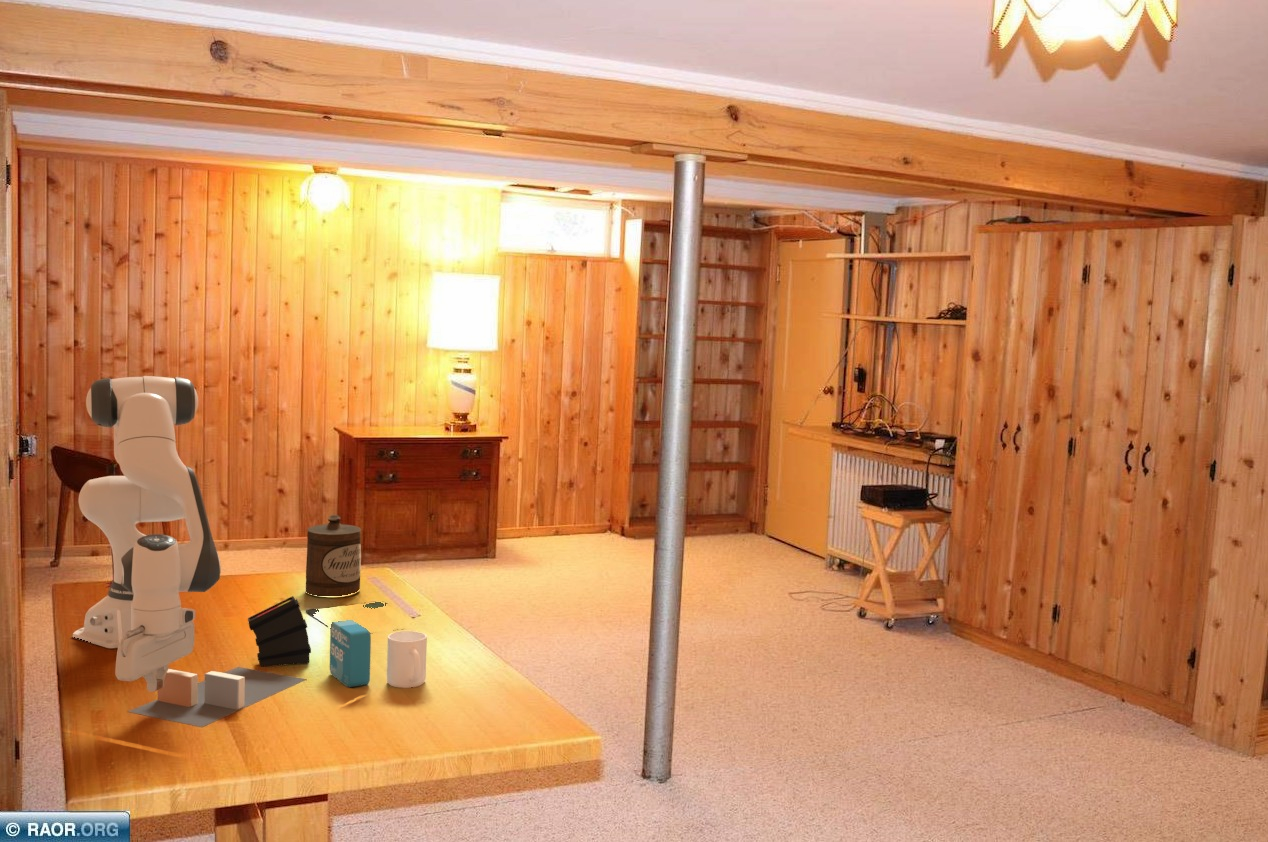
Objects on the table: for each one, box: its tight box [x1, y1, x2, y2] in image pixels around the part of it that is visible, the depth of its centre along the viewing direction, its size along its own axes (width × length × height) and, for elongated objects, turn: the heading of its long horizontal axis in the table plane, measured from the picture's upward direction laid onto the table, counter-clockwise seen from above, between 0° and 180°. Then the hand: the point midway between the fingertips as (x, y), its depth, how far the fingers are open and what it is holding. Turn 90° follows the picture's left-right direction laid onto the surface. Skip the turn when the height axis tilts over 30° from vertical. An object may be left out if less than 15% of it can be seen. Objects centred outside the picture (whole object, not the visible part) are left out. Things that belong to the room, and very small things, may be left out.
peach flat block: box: [157, 668, 199, 707], centre depth 228 cm, size 8×2×6 cm, turn 69°
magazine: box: [247, 595, 312, 667], centre depth 257 cm, size 4×13×15 cm, turn 111°
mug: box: [386, 630, 428, 689], centre depth 246 cm, size 12×8×10 cm
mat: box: [127, 666, 307, 728], centre depth 234 cm, size 18×32×1 cm, turn 159°
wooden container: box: [305, 514, 362, 596], centre depth 322 cm, size 15×15×22 cm
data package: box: [329, 620, 372, 688], centre depth 248 cm, size 12×4×12 cm, turn 36°
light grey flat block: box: [204, 670, 245, 710], centre depth 228 cm, size 8×2×6 cm, turn 69°
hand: (155, 689), depth 223 cm, fingers closed
